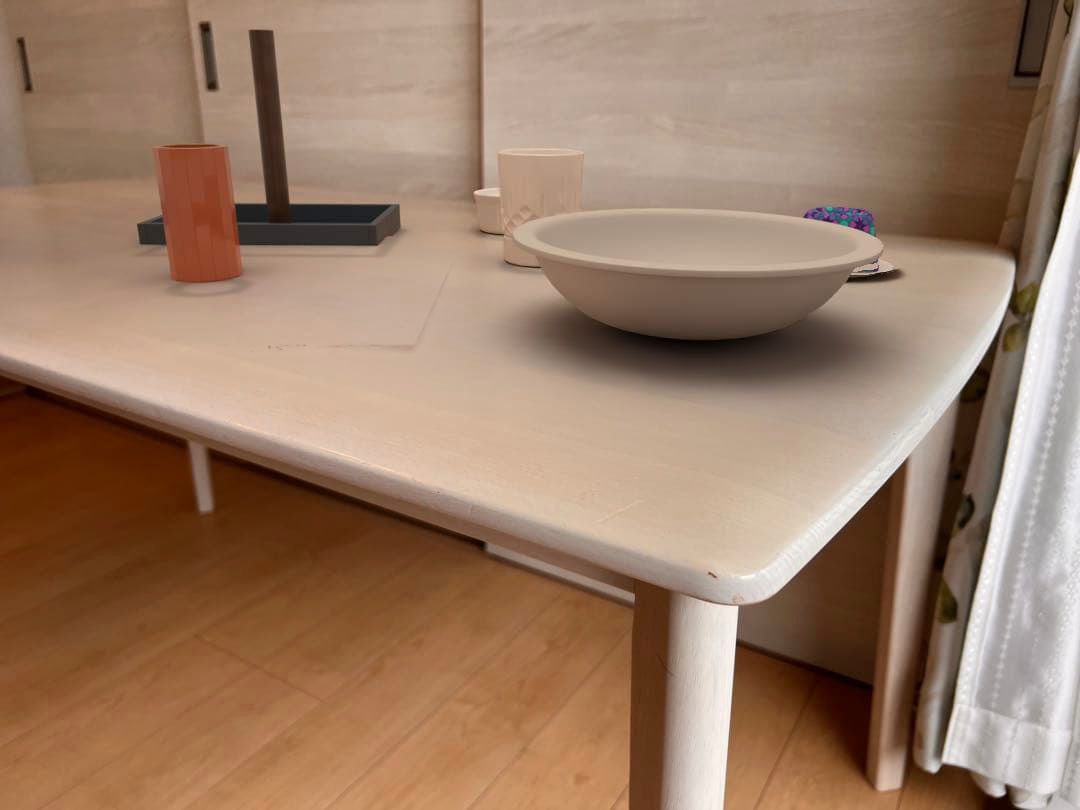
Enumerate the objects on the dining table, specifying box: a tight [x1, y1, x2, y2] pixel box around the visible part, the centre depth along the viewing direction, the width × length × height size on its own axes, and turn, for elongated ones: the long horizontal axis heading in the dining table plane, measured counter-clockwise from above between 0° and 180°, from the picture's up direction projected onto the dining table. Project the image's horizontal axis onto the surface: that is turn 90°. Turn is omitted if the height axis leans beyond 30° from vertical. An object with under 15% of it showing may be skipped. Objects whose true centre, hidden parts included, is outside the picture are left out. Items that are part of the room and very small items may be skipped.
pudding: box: [802, 206, 893, 278], centre depth 78 cm, size 12×12×5 cm
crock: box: [151, 142, 244, 284], centre depth 70 cm, size 6×6×11 cm
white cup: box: [497, 147, 585, 268], centre depth 80 cm, size 8×8×10 cm
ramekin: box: [473, 187, 505, 235], centre depth 98 cm, size 9×9×4 cm
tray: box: [136, 202, 402, 247], centre depth 92 cm, size 24×16×3 cm, turn 90°
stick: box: [248, 29, 292, 223], centre depth 89 cm, size 2×2×20 cm
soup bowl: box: [512, 207, 885, 341], centre depth 58 cm, size 24×24×7 cm
